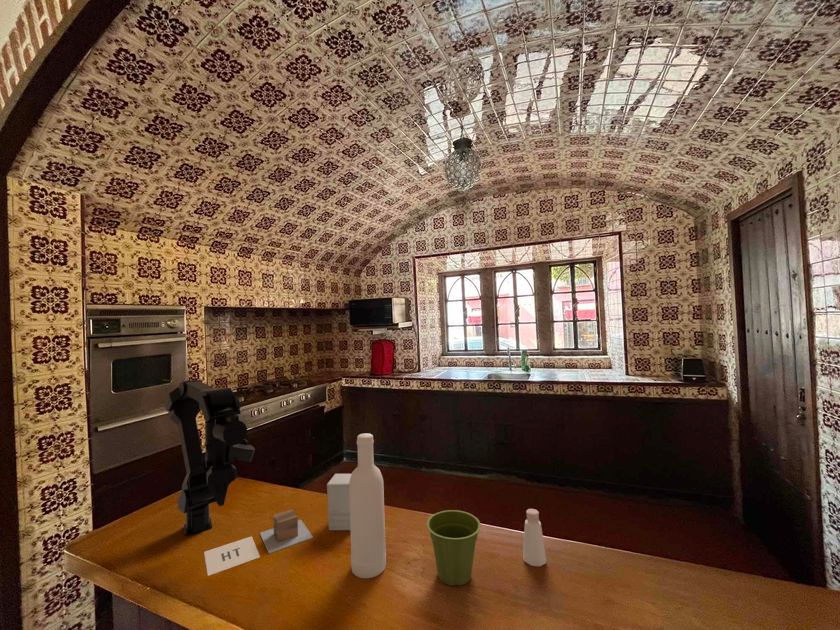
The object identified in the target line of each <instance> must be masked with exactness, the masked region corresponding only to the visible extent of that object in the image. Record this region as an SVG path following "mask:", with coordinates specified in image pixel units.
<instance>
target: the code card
mask: <svg viewBox="0 0 840 630" xmlns="http://www.w3.org/2000/svg"><path fill="white" fill-rule="evenodd" d="M203 554H204V561H205V567H206V574H207V577H209V576H212V575H215V574H218V573H221V572H223V571H227V570H228V569H231V568H233V567H237V566H239V565H242V564H245V563H248V562H250V561H252V560H256V559H259V558H260V557H261V555H260V553H259V550H258V547H257V546H256V543H255V541H254V539H253V536H248V537H245V538H242V539H238V540H236V541H233V542H230V543H228V544H223V545H221V546H218V547H214V548H212V549H209V550H206V551H203Z"/></svg>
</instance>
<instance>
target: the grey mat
mask: <svg viewBox="0 0 840 630" xmlns="http://www.w3.org/2000/svg"><path fill="white" fill-rule="evenodd" d="M259 535H260V538H261V539H262V542H263V544H264V546H265V548H266V550H267V553H268V554H269V555H270V554H272V553H275V552H278V551H281V550H284V549H287V548H289V547H292V546H295V545H297V544H300V543H302V542H306V541H308V540H311V539H313V538H314V536H313V535H312V534H311V531H309V529H308V528H307V526H306V525H305V523H304V522H303V520H302V519H298V536H296V537H293V538H290V539H287V540H285V541H282V542H279V543H278V541H277V539H276V537H275V535H274V527H273V528H270V529H267V530H265V531H261V532H259Z"/></svg>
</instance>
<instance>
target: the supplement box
mask: <svg viewBox="0 0 840 630" xmlns="http://www.w3.org/2000/svg"><path fill="white" fill-rule="evenodd" d="M351 475H352V473H334V475H333V476H332V477H331V479H330V480H329V481H328V482H327V484H326V491H327V494H326V495H327V496H326V497H327V519H328V521H327V522H328V523H327V524H328V531H351V526H350V489H349V482H350V478H351Z"/></svg>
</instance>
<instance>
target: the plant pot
mask: <svg viewBox="0 0 840 630" xmlns="http://www.w3.org/2000/svg"><path fill="white" fill-rule="evenodd" d="M481 524H482V523H481V522H480V520H479V518H478V517H476V516H474V515H473V514H472V513H469V512H466V511H463V510H458V509H457V510H456V509H454V510H453V509H448V510H441V511H439V512H436V513H433V514H432V515H431V516H429V517H428V519H427V521H426V528H427V530H428V531H429V534H430V539H431V541H432V547H433V552H434V558H435V564H436V565H435V566H436V571H437V576H438V578H439V580H440V581H441V582H442V583H443V584H445V585H448V586H456V585H457V586H463V585H465V584H467V583H468V582H469V581H470V580H471V577H472V574H473V573H472V572H473V565H474V563H473V562H474V557H475V549H476V548H475V547H476V542H477V540H478V533H479V532H480V530H481V527H482V526H481Z"/></svg>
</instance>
